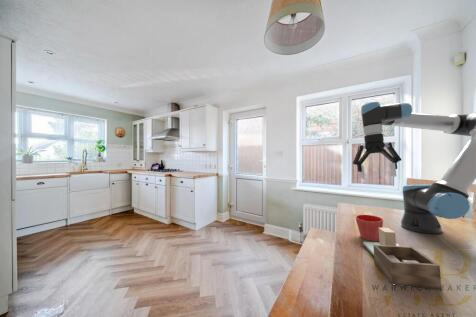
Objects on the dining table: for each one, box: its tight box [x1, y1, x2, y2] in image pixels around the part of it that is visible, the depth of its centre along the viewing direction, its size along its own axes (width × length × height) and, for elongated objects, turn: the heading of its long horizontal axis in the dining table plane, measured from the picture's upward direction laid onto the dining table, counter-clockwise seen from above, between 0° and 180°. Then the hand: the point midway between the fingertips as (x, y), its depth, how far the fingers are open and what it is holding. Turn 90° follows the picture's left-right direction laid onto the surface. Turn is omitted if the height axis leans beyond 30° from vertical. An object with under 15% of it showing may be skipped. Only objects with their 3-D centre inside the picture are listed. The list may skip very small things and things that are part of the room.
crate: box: [373, 245, 442, 291], centre depth 61 cm, size 12×12×7 cm
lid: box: [362, 227, 401, 256], centre depth 74 cm, size 13×13×10 cm
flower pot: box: [355, 214, 384, 242], centre depth 89 cm, size 11×11×10 cm
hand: (378, 177), depth 89 cm, fingers open, 13 cm apart
